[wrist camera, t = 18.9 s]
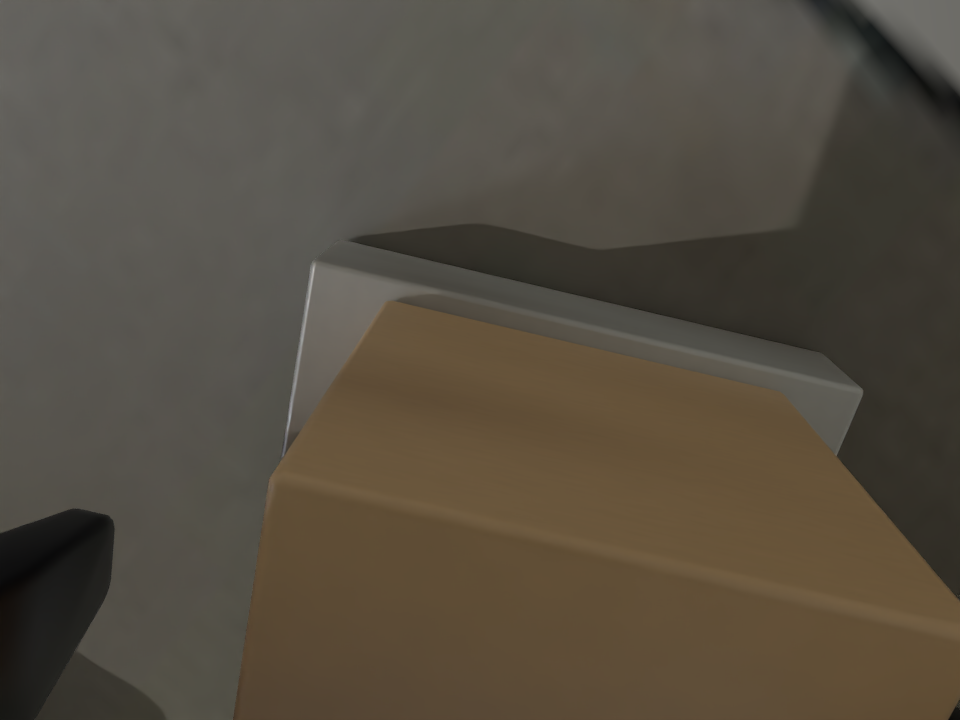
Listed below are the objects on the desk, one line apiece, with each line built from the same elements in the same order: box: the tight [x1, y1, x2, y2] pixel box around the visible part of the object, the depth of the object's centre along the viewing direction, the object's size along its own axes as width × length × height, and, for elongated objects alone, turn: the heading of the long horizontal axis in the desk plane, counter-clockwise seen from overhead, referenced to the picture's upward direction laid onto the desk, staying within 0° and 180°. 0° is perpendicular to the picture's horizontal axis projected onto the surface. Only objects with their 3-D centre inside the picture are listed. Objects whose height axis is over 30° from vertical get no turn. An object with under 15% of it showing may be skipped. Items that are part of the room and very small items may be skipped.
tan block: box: [233, 240, 960, 720], centre depth 8 cm, size 7×6×5 cm
